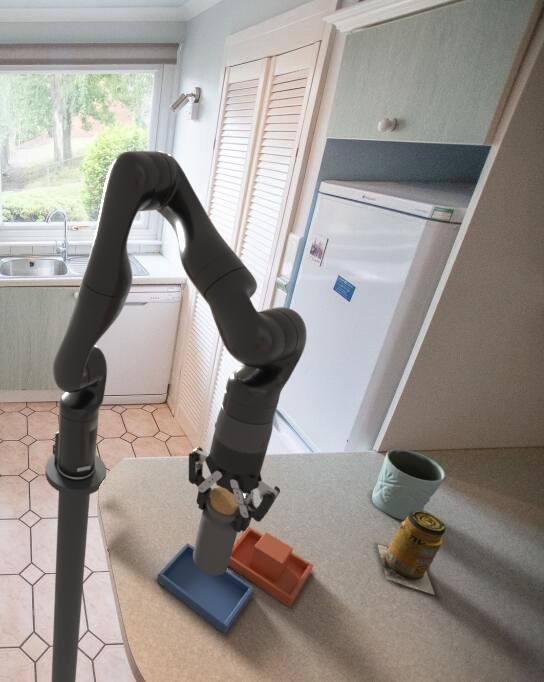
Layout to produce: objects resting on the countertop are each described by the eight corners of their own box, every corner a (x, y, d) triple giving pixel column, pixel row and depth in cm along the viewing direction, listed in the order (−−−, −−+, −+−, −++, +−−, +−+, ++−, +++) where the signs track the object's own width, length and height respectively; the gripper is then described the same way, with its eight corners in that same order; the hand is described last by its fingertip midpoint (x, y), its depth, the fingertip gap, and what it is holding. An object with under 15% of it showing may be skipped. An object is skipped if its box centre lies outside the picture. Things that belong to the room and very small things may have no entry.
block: (248, 565, 86) (254, 546, 84) (259, 550, 90) (265, 531, 87) (275, 582, 83) (282, 563, 81) (286, 566, 86) (293, 548, 84)
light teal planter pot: (391, 486, 106) (409, 445, 101) (436, 518, 97) (459, 475, 92) (357, 494, 104) (374, 453, 99) (400, 529, 95) (421, 485, 90)
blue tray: (156, 581, 84) (158, 573, 83) (185, 549, 90) (187, 542, 89) (224, 634, 75) (227, 626, 74) (251, 595, 81) (254, 588, 80)
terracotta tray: (223, 562, 88) (225, 555, 87) (246, 533, 94) (248, 526, 93) (289, 607, 79) (292, 599, 79) (310, 572, 86) (313, 565, 85)
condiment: (421, 558, 88) (445, 513, 83) (434, 595, 81) (461, 548, 76) (376, 545, 91) (397, 500, 86) (385, 579, 84) (408, 533, 79)
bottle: (193, 571, 78) (208, 506, 71) (191, 543, 83) (205, 481, 76) (229, 579, 76) (248, 514, 70) (225, 551, 82) (242, 488, 75)
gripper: (301, 447, 65) (274, 531, 73) (208, 406, 75) (192, 483, 82) (281, 471, 61) (254, 558, 68) (185, 424, 70) (170, 504, 78)
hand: (220, 517), depth 75 cm, fingers closed on bottle, 5 cm apart
